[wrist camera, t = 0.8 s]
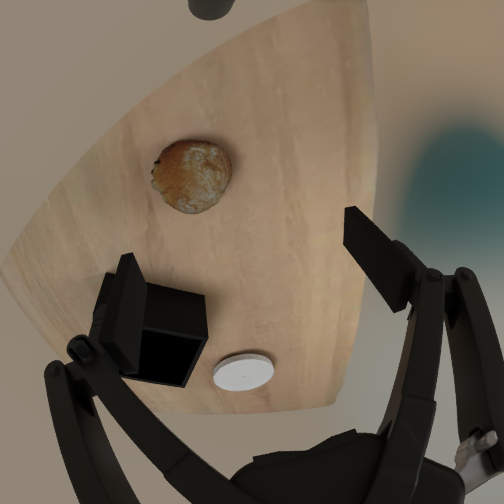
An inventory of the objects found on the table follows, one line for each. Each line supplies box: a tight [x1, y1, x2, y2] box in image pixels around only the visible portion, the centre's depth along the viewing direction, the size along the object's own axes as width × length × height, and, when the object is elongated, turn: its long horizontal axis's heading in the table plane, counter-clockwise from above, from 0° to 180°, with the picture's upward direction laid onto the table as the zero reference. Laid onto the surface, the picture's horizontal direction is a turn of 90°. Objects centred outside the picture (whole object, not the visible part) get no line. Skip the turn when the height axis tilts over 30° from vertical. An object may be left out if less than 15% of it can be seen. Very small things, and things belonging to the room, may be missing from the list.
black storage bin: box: [93, 272, 209, 388], centre depth 46 cm, size 16×18×10 cm
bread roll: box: [151, 140, 232, 214], centre depth 36 cm, size 10×10×8 cm
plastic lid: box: [213, 354, 274, 391], centre depth 63 cm, size 14×14×2 cm
